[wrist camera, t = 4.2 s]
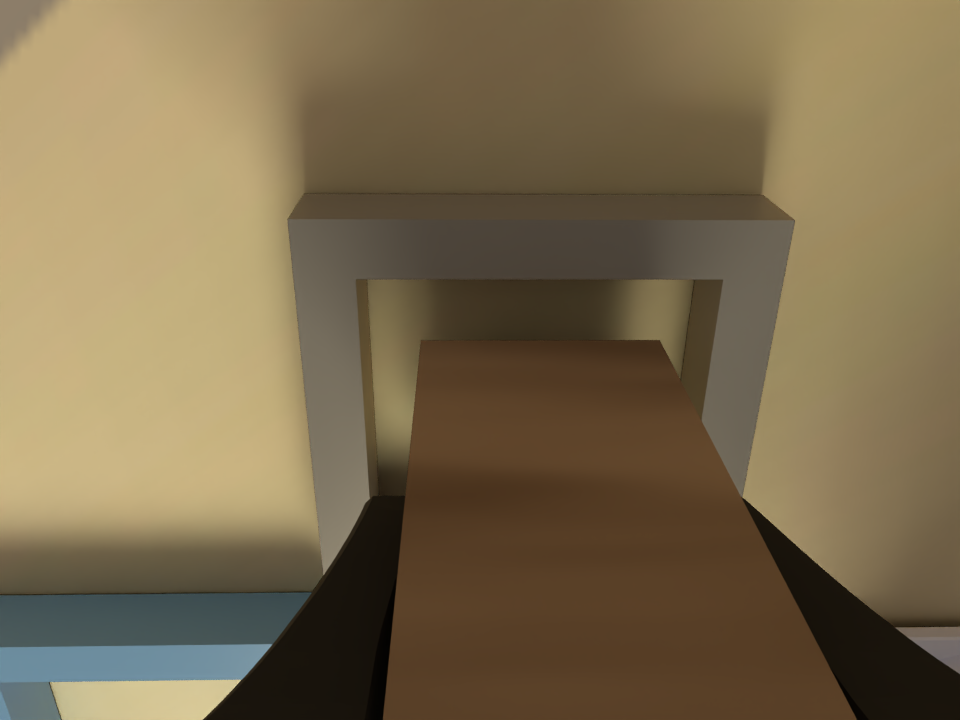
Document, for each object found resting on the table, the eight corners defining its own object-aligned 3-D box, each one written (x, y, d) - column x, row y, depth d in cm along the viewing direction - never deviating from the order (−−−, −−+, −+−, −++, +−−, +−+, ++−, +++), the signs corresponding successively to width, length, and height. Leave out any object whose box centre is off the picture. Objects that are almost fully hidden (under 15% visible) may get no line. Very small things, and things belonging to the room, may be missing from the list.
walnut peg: (636, 530, 15) (790, 1033, 8) (425, 532, 15) (396, 1042, 8) (659, 340, 14) (884, 771, 6) (421, 340, 13) (377, 778, 6)
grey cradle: (702, 553, 18) (722, 603, 16) (336, 556, 18) (326, 606, 16) (763, 194, 14) (794, 220, 13) (303, 193, 14) (287, 218, 13)
